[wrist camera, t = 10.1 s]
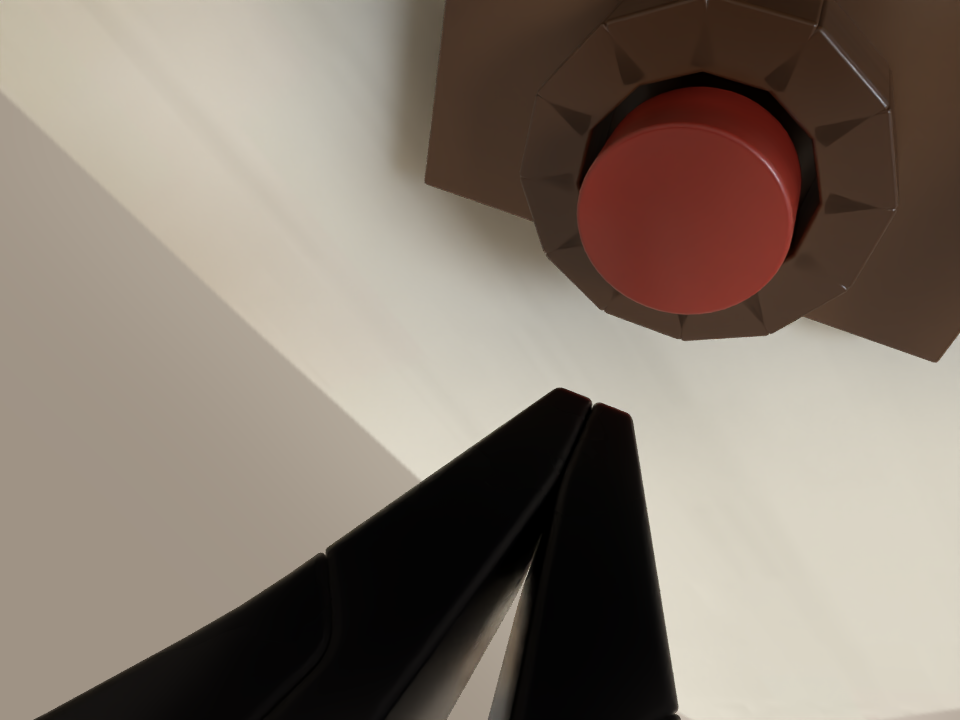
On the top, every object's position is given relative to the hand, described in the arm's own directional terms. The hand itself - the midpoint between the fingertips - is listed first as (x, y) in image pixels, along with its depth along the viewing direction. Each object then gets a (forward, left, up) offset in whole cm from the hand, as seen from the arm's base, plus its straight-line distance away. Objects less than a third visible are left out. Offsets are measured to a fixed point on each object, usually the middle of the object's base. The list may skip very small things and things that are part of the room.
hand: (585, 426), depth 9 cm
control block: (0, 0, -11) cm, 11 cm away
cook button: (0, +1, -8) cm, 8 cm away
